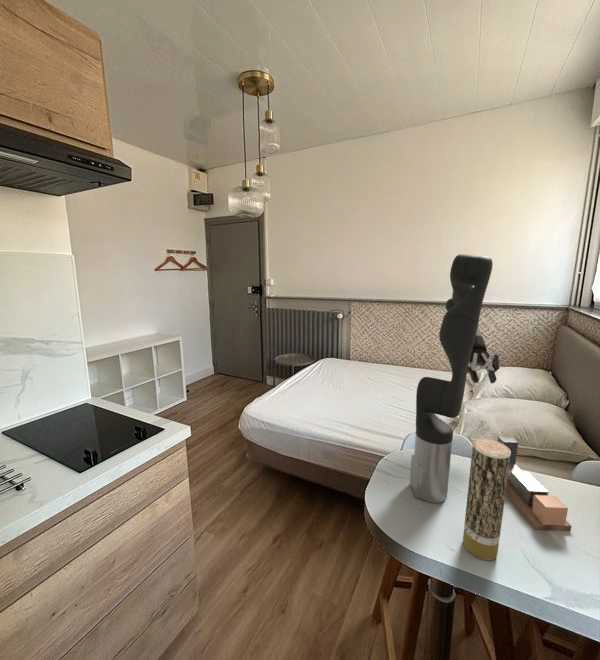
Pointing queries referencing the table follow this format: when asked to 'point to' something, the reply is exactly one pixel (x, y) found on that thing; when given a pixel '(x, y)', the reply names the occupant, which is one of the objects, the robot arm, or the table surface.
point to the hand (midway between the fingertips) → (485, 382)
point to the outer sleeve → (525, 485)
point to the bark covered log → (486, 497)
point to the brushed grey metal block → (514, 458)
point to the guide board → (529, 515)
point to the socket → (549, 510)
